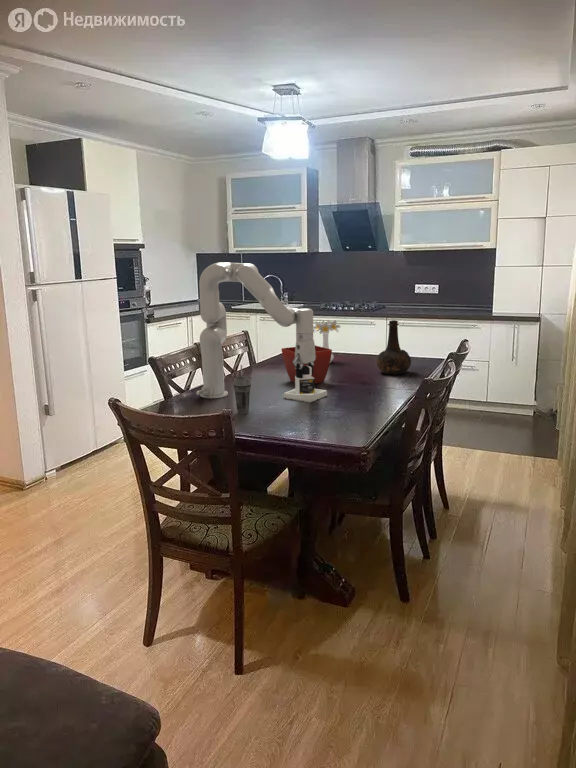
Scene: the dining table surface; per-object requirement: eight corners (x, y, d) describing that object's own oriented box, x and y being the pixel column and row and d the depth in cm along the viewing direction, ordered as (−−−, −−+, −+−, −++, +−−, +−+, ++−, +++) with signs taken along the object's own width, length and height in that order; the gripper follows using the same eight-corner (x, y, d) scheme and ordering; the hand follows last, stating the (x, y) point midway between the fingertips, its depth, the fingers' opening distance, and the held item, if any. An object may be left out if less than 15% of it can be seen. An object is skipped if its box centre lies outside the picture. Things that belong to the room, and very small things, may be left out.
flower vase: (309, 360, 348) (309, 318, 342) (340, 360, 346) (340, 318, 340) (308, 364, 335) (307, 321, 330) (340, 364, 333) (340, 321, 328)
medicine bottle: (299, 394, 256) (299, 368, 254) (295, 391, 263) (294, 365, 260) (314, 393, 258) (314, 367, 255) (310, 390, 265) (310, 364, 262)
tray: (309, 402, 251) (309, 396, 251) (283, 398, 260) (283, 392, 259) (326, 395, 262) (326, 390, 262) (301, 392, 271) (301, 386, 270)
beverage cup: (252, 409, 241) (250, 362, 237) (251, 414, 234) (250, 366, 230) (234, 410, 241) (232, 362, 236) (233, 415, 234) (231, 366, 229)
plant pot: (281, 380, 295) (280, 347, 292) (313, 376, 304) (313, 344, 300) (299, 388, 279) (298, 353, 275) (333, 383, 287) (333, 349, 283)
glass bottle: (417, 374, 304) (418, 321, 298) (387, 378, 297) (388, 323, 291) (398, 368, 320) (399, 318, 314) (370, 371, 314) (370, 319, 307)
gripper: (300, 340, 246) (300, 380, 250) (322, 335, 260) (322, 373, 264) (286, 338, 250) (286, 378, 254) (308, 333, 264) (308, 371, 268)
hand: (304, 375), depth 259 cm, fingers closed on medicine bottle, 7 cm apart
